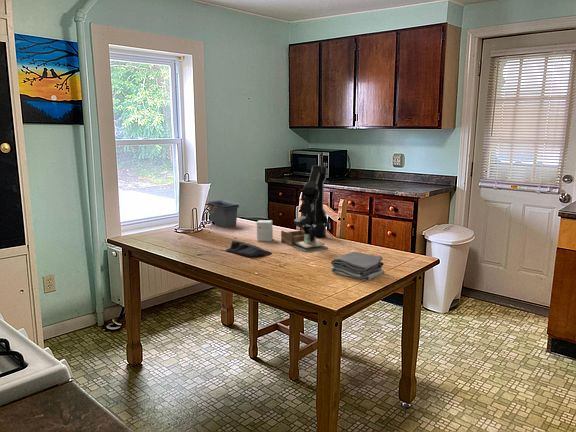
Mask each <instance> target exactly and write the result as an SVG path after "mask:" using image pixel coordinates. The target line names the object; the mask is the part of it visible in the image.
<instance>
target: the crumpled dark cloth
mask: <svg viewBox="0 0 576 432" xmlns="http://www.w3.org/2000/svg"><path fill="white" fill-rule="evenodd" d="M225 250H226V251H227V252H230V253H233V254H237V255H241V256H245V257H250V258H253V257H258V256H259V257H261V256H268V255H271V254H272V252H271V251H269V250H265V249H263V248H261V247H259V246H258V245H255V244H251V243H247V242H244V241H243V242H242V241H237V240H232V241H231V244H230V247H229V248H226V249H225Z"/></svg>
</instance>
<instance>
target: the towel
mask: <svg viewBox="0 0 576 432" xmlns="http://www.w3.org/2000/svg"><path fill="white" fill-rule="evenodd" d="M382 260H383V256H382V255H374V254H371V253H370V254H369V253H366V252H365V253H364V252H359V251H350V252H348V253H346V254H343V255H341V256H339V257H336V258H334V259H332V260H331V263H330V264H331V265H332V266H333V267H332V268H331V272H332V273H333V274H335V275H340V276H344V277H348V278H352V279H359V280H362V281H365V280H366V281H365V282H369V281H371V280H373V279H375V278H377V277H378V276H381V275H383V274H384V273H385V270H384V269H383V266H384V263H385V262H383V261H382Z"/></svg>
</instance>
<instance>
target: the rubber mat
mask: <svg viewBox="0 0 576 432" xmlns="http://www.w3.org/2000/svg"><path fill="white" fill-rule="evenodd" d="M291 247H292V248H294V249H296V250H298V251H301V252H303V253H309V252H314V251H321V250H326V249H327V250H328V248H329V247H328V246H325V245H322V246H315V247H309V248H305V247H302V246H300V245H294V246H291Z"/></svg>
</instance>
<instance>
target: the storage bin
mask: <svg viewBox="0 0 576 432" xmlns="http://www.w3.org/2000/svg"><path fill="white" fill-rule="evenodd" d="M206 205H207V206H208V209H209V219H210V220H209V221H210V222H211V221H213V222H214V223H215V224H216V226H219V227H221V228H231V227H236V226H237V221H238V219H237V218H238V208H240V203H239V202H233V201H230V200H226V199H217V200H215V199H214V200H208V201H206ZM215 224H214V225H215Z"/></svg>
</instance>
